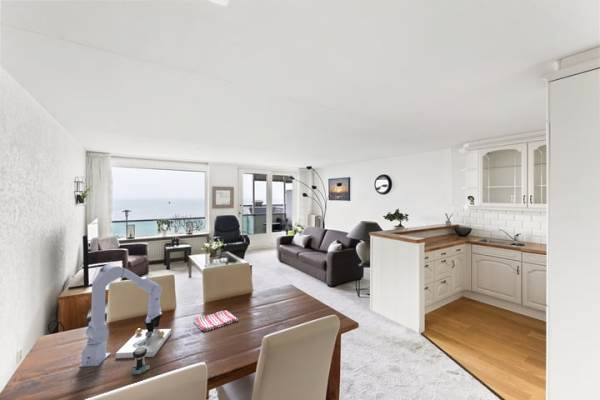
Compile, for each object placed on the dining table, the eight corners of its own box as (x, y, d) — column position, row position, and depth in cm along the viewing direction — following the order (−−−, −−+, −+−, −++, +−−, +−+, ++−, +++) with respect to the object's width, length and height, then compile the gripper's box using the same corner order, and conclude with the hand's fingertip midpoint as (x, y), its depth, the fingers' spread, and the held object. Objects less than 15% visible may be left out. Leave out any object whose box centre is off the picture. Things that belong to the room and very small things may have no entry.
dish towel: (192, 322, 159) (192, 317, 159) (227, 312, 174) (227, 307, 174) (202, 333, 146) (202, 327, 146) (239, 322, 161) (239, 316, 161)
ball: (150, 338, 134) (150, 332, 134) (144, 338, 133) (144, 332, 133) (153, 335, 137) (153, 329, 137) (147, 335, 137) (147, 329, 136)
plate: (153, 356, 122) (153, 351, 122) (115, 358, 120) (116, 353, 120) (171, 333, 144) (171, 328, 144) (139, 334, 142) (139, 329, 142)
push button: (149, 366, 115) (150, 344, 115) (149, 372, 111) (150, 350, 111) (132, 370, 112) (133, 347, 112) (131, 377, 107) (132, 354, 108)
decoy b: (162, 338, 134) (162, 332, 134) (156, 339, 133) (156, 333, 133) (165, 335, 137) (165, 329, 137) (158, 335, 136) (159, 329, 136)
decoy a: (140, 335, 136) (140, 329, 136) (134, 336, 136) (134, 330, 136) (143, 332, 139) (143, 327, 139) (137, 333, 139) (137, 327, 139)
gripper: (156, 310, 134) (155, 336, 134) (166, 300, 149) (166, 323, 148) (141, 311, 133) (141, 336, 133) (154, 300, 148) (153, 323, 147)
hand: (153, 329), depth 141 cm, fingers open, 6 cm apart
